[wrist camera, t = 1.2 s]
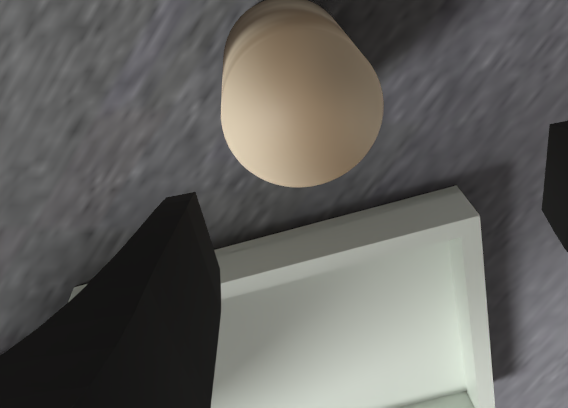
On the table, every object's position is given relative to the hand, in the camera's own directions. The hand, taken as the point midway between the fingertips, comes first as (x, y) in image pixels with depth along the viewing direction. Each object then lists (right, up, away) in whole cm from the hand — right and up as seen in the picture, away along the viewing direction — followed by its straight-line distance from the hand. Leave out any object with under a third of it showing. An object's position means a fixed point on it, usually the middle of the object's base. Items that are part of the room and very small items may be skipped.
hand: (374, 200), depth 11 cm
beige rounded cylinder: (-2, +5, +9) cm, 10 cm away
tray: (-1, -7, +16) cm, 18 cm away
